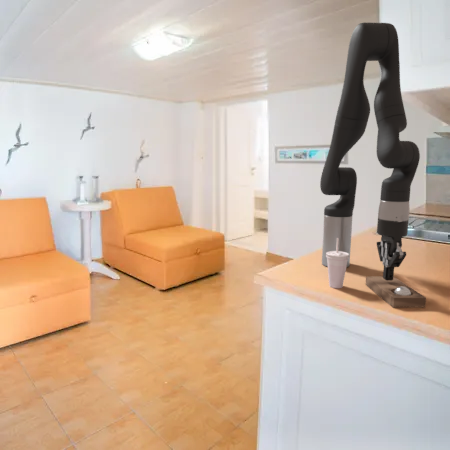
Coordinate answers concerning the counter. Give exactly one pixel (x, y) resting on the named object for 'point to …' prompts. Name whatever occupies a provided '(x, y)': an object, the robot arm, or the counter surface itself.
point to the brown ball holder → (387, 292)
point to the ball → (402, 291)
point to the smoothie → (336, 266)
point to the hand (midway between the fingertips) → (387, 279)
